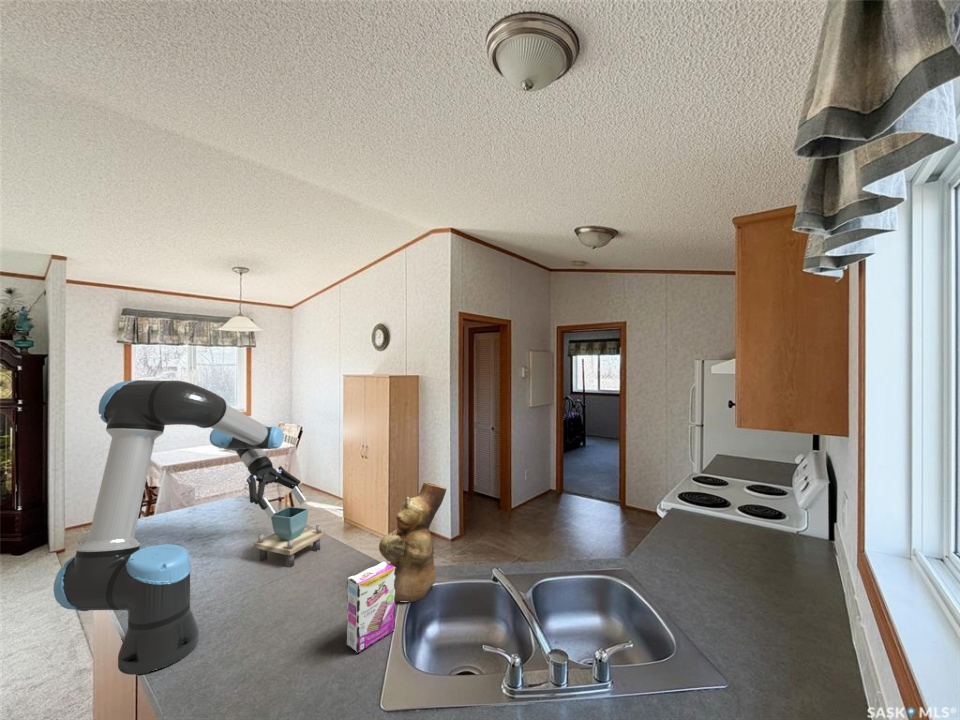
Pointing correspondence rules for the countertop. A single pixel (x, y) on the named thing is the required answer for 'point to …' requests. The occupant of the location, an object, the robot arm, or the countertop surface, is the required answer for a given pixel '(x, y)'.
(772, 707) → the countertop surface
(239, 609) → the countertop surface
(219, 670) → the countertop surface
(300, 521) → the flower pot
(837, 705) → the countertop surface
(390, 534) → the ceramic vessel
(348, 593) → the candy bar box
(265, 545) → the plant stand
